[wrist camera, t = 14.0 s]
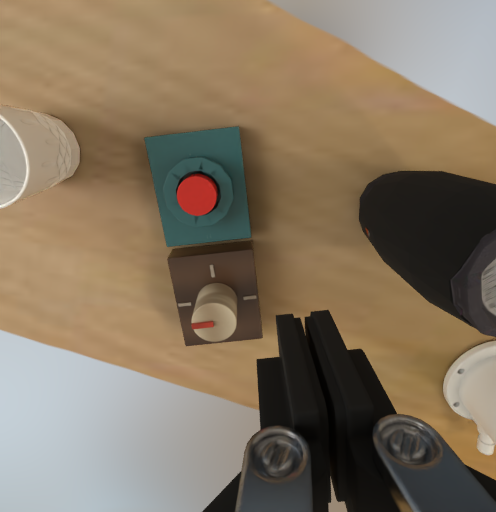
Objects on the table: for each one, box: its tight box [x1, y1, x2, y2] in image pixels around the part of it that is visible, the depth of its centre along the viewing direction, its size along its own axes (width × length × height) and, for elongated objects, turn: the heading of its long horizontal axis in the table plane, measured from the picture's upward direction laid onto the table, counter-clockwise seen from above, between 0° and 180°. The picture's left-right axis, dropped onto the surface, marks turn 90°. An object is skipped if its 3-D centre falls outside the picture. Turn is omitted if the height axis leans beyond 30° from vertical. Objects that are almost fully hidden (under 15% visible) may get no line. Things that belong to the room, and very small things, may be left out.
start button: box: [177, 174, 218, 216], centre depth 32 cm, size 4×4×2 cm
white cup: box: [0, 105, 80, 209], centre depth 30 cm, size 8×8×10 cm
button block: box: [144, 126, 251, 247], centre depth 34 cm, size 11×9×4 cm
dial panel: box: [167, 241, 263, 346], centre depth 39 cm, size 11×9×3 cm
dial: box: [191, 283, 237, 342], centre depth 35 cm, size 4×4×5 cm
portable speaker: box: [359, 171, 496, 337], centre depth 28 cm, size 9×9×20 cm
